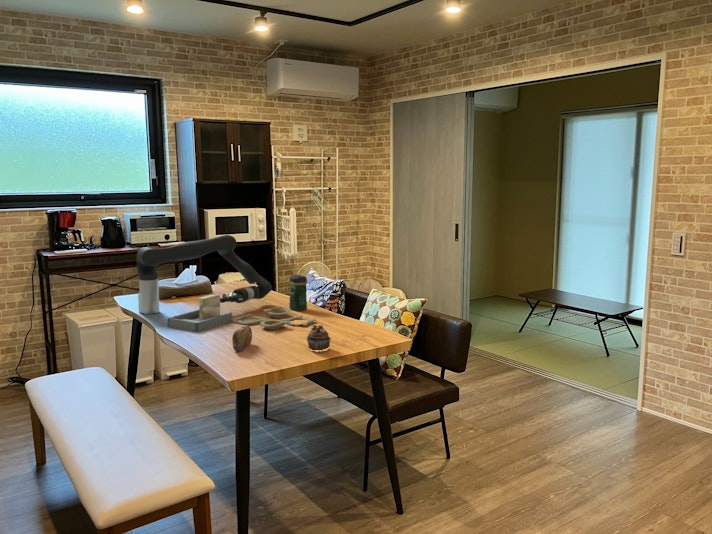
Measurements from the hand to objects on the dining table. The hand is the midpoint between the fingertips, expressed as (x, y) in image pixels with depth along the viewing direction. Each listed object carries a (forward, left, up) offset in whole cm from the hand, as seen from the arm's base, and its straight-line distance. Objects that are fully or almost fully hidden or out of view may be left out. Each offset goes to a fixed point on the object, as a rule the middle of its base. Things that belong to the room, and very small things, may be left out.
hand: (220, 300), depth 284 cm
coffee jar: (+22, +36, -9) cm, 43 cm away
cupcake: (+70, -22, -9) cm, 74 cm away
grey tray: (0, -14, -8) cm, 17 cm away
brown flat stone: (+42, -36, -9) cm, 56 cm away
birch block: (0, -8, -6) cm, 10 cm away
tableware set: (+28, +6, -9) cm, 30 cm away
